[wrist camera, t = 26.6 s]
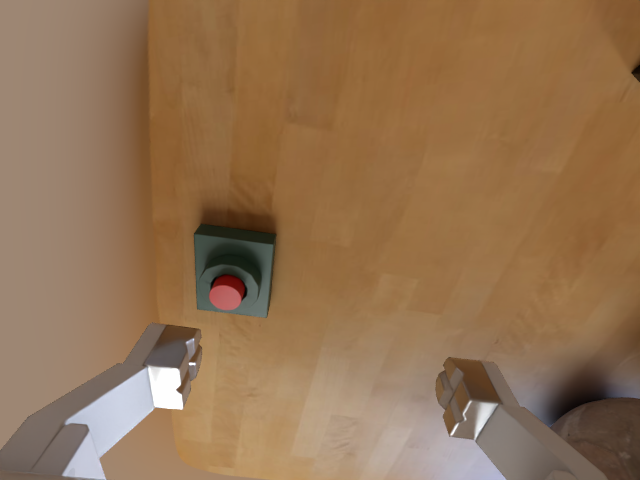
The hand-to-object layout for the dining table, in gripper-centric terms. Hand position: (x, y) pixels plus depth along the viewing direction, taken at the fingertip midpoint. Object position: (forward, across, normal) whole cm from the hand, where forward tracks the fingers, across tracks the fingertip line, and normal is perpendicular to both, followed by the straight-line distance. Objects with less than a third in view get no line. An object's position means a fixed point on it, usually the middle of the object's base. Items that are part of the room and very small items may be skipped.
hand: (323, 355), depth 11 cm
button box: (+23, +8, +14) cm, 28 cm away
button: (+20, +8, +14) cm, 25 cm away
